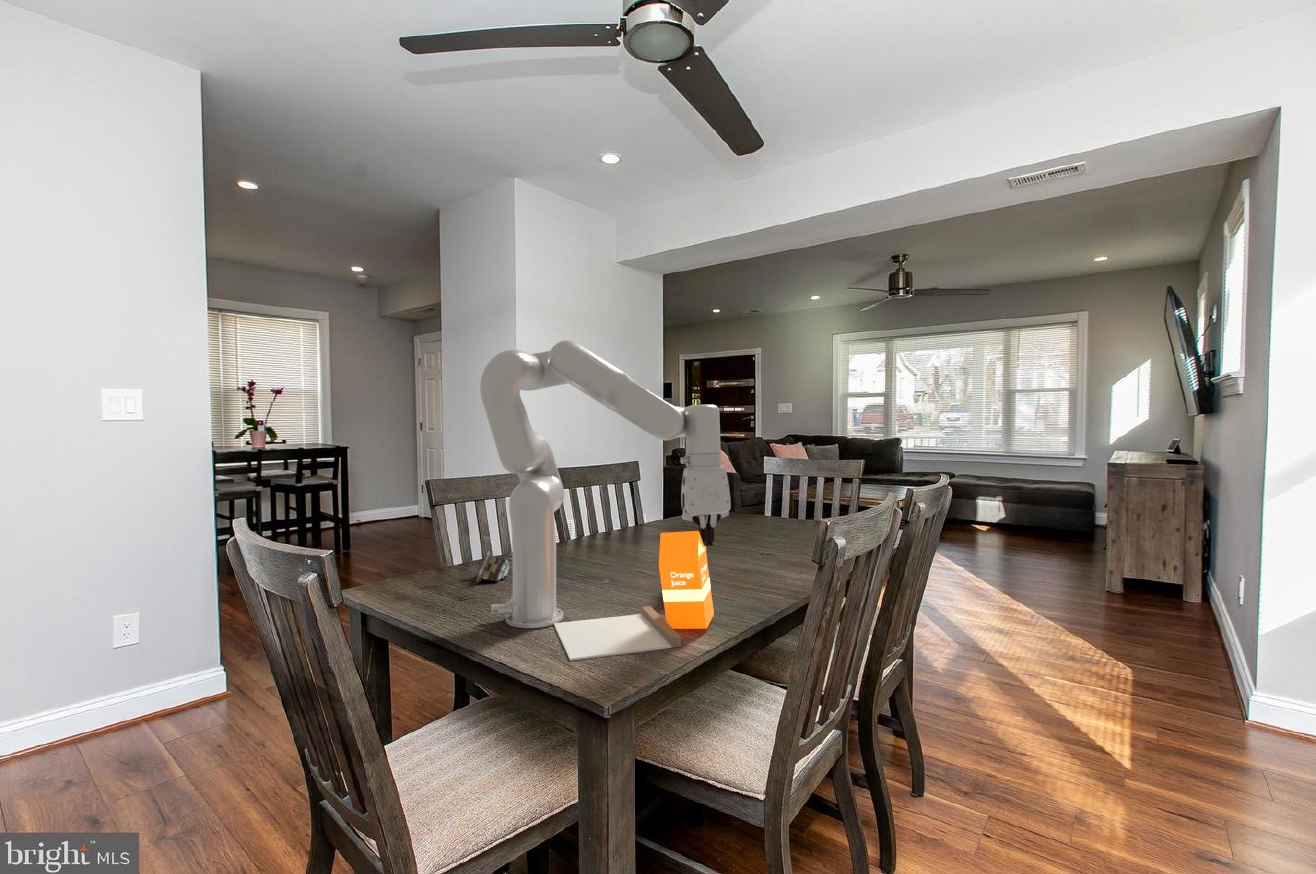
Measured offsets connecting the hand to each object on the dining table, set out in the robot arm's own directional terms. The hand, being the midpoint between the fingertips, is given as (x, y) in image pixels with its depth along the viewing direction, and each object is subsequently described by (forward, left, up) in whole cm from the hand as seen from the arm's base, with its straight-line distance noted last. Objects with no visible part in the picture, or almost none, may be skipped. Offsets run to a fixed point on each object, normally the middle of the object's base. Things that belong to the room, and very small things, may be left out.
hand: (706, 545), depth 130 cm
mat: (-22, -1, -17) cm, 28 cm away
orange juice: (-3, 0, -17) cm, 17 cm away
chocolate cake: (-44, +47, -19) cm, 67 cm away
